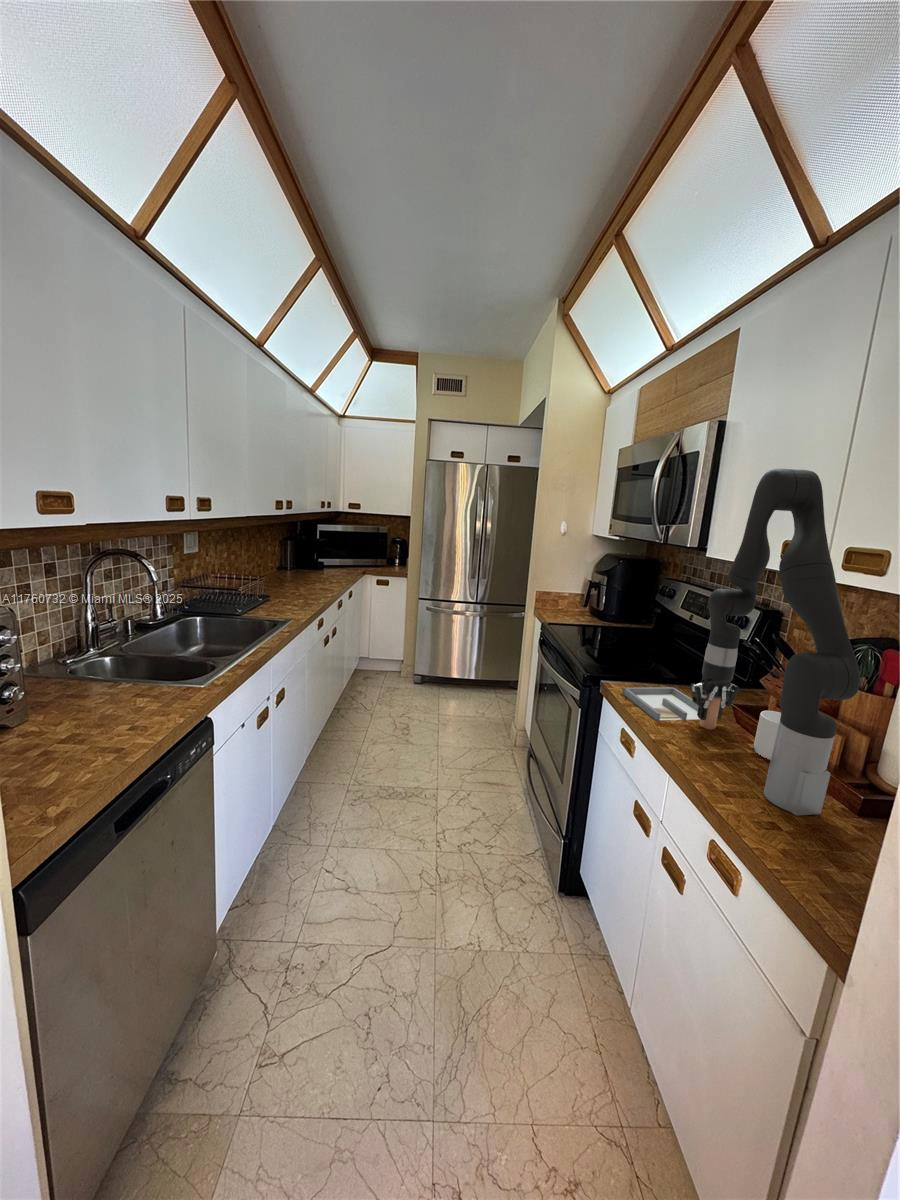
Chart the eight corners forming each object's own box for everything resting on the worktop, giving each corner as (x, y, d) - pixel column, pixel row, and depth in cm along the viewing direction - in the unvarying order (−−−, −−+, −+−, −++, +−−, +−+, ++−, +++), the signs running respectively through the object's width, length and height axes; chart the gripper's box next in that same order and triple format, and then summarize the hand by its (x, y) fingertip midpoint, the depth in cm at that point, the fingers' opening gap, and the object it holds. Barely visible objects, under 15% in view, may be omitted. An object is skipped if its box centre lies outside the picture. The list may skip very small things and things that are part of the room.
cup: (759, 759, 117) (767, 721, 115) (744, 737, 129) (751, 702, 127) (797, 765, 115) (806, 728, 113) (778, 742, 127) (786, 708, 124)
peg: (718, 732, 130) (724, 699, 128) (705, 732, 130) (711, 699, 128) (708, 725, 134) (714, 693, 132) (695, 725, 134) (701, 693, 131)
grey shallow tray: (711, 722, 137) (713, 712, 136) (655, 723, 134) (657, 713, 133) (671, 695, 155) (673, 686, 154) (621, 695, 152) (622, 687, 151)
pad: (678, 718, 136) (678, 716, 136) (659, 718, 135) (660, 717, 134) (666, 709, 141) (666, 707, 141) (648, 709, 140) (648, 708, 140)
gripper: (706, 665, 123) (695, 725, 126) (753, 665, 125) (741, 724, 129) (687, 656, 130) (677, 713, 134) (732, 656, 133) (721, 712, 136)
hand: (708, 718), depth 131 cm, fingers closed on peg, 4 cm apart
